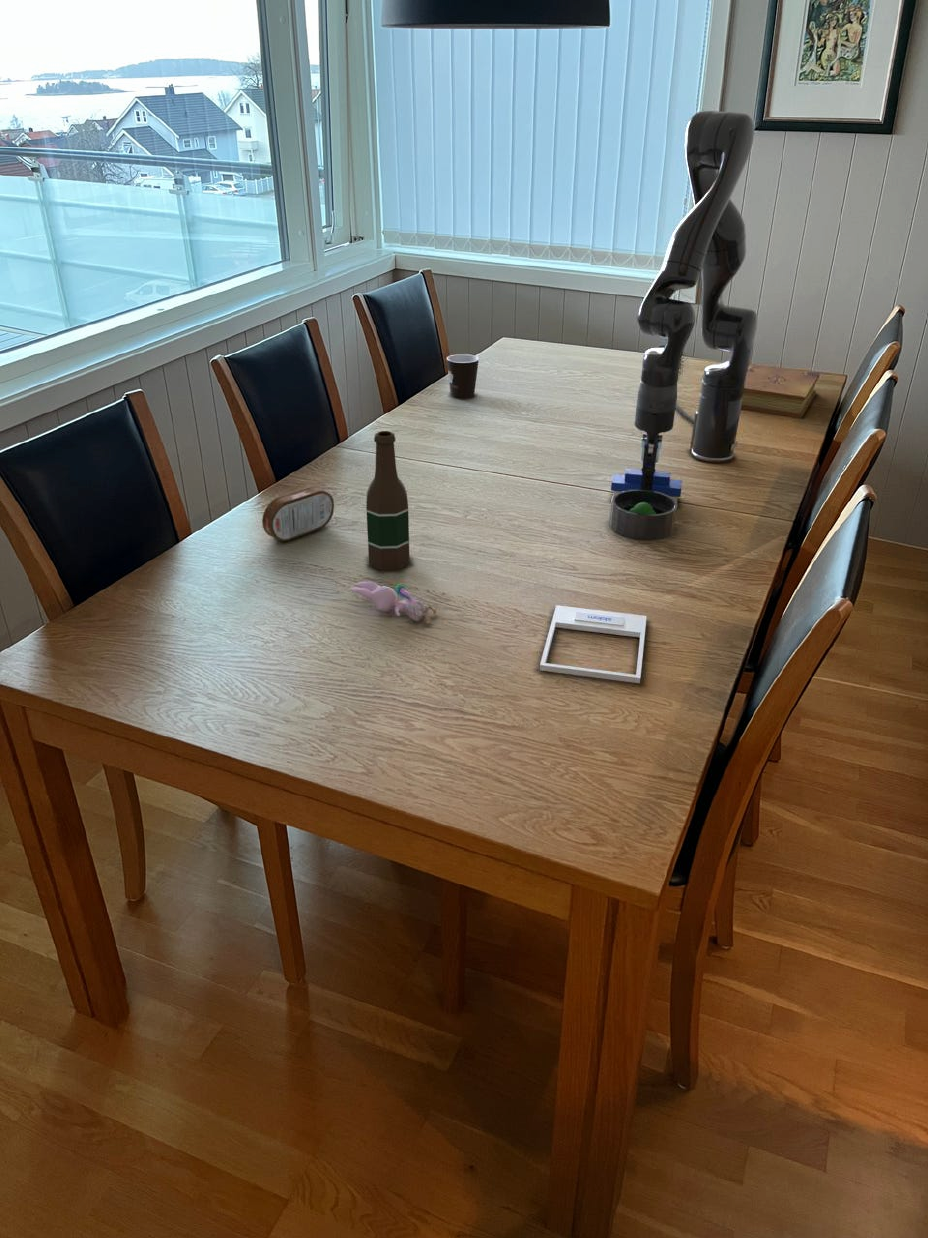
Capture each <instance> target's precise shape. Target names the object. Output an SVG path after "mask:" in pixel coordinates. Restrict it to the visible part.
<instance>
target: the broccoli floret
mask: <svg viewBox="0 0 928 1238" xmlns="http://www.w3.org/2000/svg"><path fill="white" fill-rule="evenodd" d="M628 512H632V513H637V514H645V515H656V514H657V513H656V512H655V511H654V510H653V508H652V506H651V505H650V504H648V503H645V502H642V503H639V504H637V505H636V506H635V507H634V508H631V509H630V510H629V511H628Z"/></svg>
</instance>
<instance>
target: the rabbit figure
mask: <svg viewBox="0 0 928 1238" xmlns="http://www.w3.org/2000/svg"><path fill="white" fill-rule="evenodd" d="M353 586H354V587H350V588H349V591H352V592H355V593H357V594H359V595H360V596H361V597H363V598H365V599H366V600H369V601H370V602H372V604H373V605H374V607H375V608H377V609H378V610H379V611H381V612H382V613H390V612H391V611H394V612H395V614H396V616H397V617H400V616H401V614H406V615H407V616H408V617H409V618H410V620H412V621H413V622H415V623H417V622H420V621H422V619H423V618H426V622H425V624H426V625H427V626H428V625H429V624H428V623H429V622H430V617H431V616H430V615H429V614H428V612H429V611H430V610H431V611H432V613H433V615H432V617H433V618H436V616H437V608H433V606H432V605H426V604H424V603H423V602H422V601H421V600H418V598H417V596H414V597H412V596H411V594H410V593H409V592H408V591H407V590H406V589H405V588H406V585H405V584H403V583H398V584H397V585H396V587H395V590H394V589H393V588H391V587H389V586H385V585H382V586H380V585H379V584H378V583H375V582H373V581H368V580H364V581H360V582H356V583H354V585H353ZM399 597H400V598H403V600H399ZM427 614H428V615H427Z"/></svg>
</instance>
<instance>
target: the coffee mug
mask: <svg viewBox="0 0 928 1238" xmlns="http://www.w3.org/2000/svg"><path fill="white" fill-rule="evenodd" d="M479 361H480V358H479V357H478V356H476V355H474V354H467V353H457V354H451V355H448V356H447V357H446V365H447V366H446V367H447V375H448V383H449V391H450V397H452V398H454V399H459V400H465V399H472V398H473V397H475V392H476V391H475V390H476V384H477V377H478V369H479Z"/></svg>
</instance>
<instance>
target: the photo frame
mask: <svg viewBox="0 0 928 1238" xmlns="http://www.w3.org/2000/svg"><path fill="white" fill-rule="evenodd" d="M646 627H647V615H642V614H641V615H640V614H633V613H625V612H617V611H608V610H599V609H591V608H582V607H575V606H565V605H558V604H556V605H555V608H554V612H553V615H552V619H551V623H550V626H549V630H548V634H547V637H546V642H545V645H544V649H543V652H542V655H541V660H540V663H539V671H542V672H551V673H558V674H566V675H572V676H580V677H581V676H582V677H588V678H595V679H596V678H597V679H604V680H612V681H619V682H627V683H634V684H640V683H641V677H642V666H643V655H644V647H645V635H646ZM556 628H560V629H567V630H575V631H583V632H592V633H599V634H601V633H602V634H608V635H616V636H625V637H633V638H639V644H638V652H637V653H638V654H637V663H636V672H635V674H631V673H625V672H618V671H610V670H609V671H608V670H602V669H594V668H588V667H587V668H585V667H579V666H572V665H563V664H555V663H549V662H547V661H548V657H549V654H550V650H551V646H552V641H553V638H554V634H555V630H556Z"/></svg>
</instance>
